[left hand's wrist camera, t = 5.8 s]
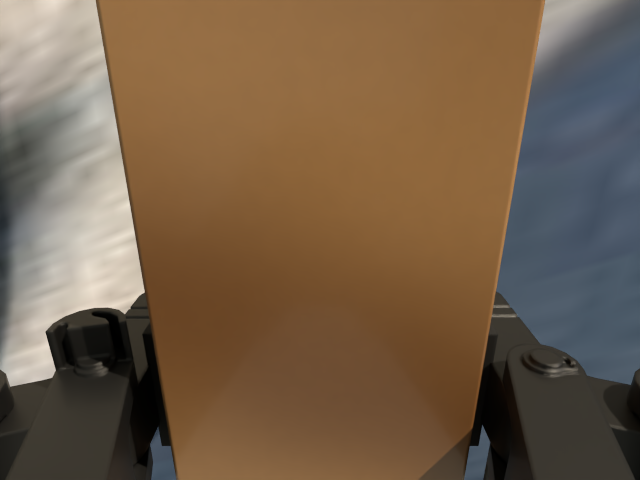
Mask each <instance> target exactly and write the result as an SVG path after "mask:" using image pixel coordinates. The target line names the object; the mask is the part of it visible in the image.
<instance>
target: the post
mask: <svg viewBox="0 0 640 480" xmlns="http://www.w3.org/2000/svg"><path fill="white" fill-rule="evenodd" d="M96 4H97V10H98V16H99V22H100V28H101V34H102V40H103V46H104V52H105V58H106V64H107V70H108V76H109V82H110V88H111V94H112V99H113V105H114V111H115V117H116V123H117V129H118V135H119V141H120V147H121V153H122V159H123V165H124V171H125V177H126V183H127V189H128V194H129V200H130V206H131V212H132V218H133V224H134V230H135V236H136V242H137V248H138V254H139V260H140V266H141V272H142V278H143V284H144V289H145V295H146V301H147V307H148V313H149V319H150V325H151V331H152V337H153V343H154V349H155V355H156V361H157V367H158V373H159V379H160V385H161V390H162V396H163V402H164V408H165V414H166V420H167V426H168V432H169V438H170V444H171V450H172V456H173V462H174V468H175V474H176V480H464V476H465V470H466V464H467V458H468V452H469V447H470V441H471V435H472V429H473V423H474V417H475V411H476V405H477V399H478V393H479V388H480V382H481V376H482V370H483V364H484V358H485V352H486V346H487V340H488V334H489V329H490V323H491V317H492V311H493V305H494V299H495V293H496V287H497V281H498V275H499V270H500V264H501V258H502V252H503V246H504V240H505V234H506V228H507V222H508V216H509V210H510V205H511V199H512V193H513V187H514V181H515V175H516V169H517V163H518V157H519V151H520V146H521V140H522V134H523V128H524V122H525V116H526V110H527V104H528V98H529V92H530V87H531V81H532V75H533V69H534V63H535V57H536V51H537V45H538V39H539V33H540V28H541V22H542V16H543V10H544V4H545V0H96Z"/></svg>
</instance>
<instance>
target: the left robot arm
mask: <svg viewBox="0 0 640 480" xmlns="http://www.w3.org/2000/svg"><path fill="white" fill-rule="evenodd" d="M46 335H47V339H48V343H49V346H50V350H51V354H52V357H53V361H54V365H55V368H56V371H55V374H54V376H53V378H50V379H46V380H42V381H37V382H32V383H27V384H22V385H17V386H12V387H10V385H9V382H8V379H7V376H6V374H5V373H4V372H3V371H1V370H0V480H151V476H152V467H153V459H152V452H151V447H150V443H151V441H152V438H153V436H154V434H155V432H156V430H157V427H158V426H159V432H160V438H161V443H162V446H171V444H170V438H169V432H168V426H167V420H166V414H165V408H164V402H163V396H162V390H161V385H160V379H159V373H158V367H157V361H156V355H155V349H154V343H153V337H152V331H151V325H150V319H149V313H148V307H147V301H146V295H145V293H143V294H142V295H140V296H139V297H138V298H137V300H136V301H135V302H134V304H133V305H132V306H131V309H129V310H128V311H127V312H126V314H124V313H122V312H121V311H120V310H116V309H112V308H93V309H88V310H83V311H79V312H76V313H73V314H71V315H68V316H65V317H63V318H62V319H60V320H58V321H57V322H55V323H53V324H52V325H51V326H50V328H49V329H48V330H47V331H46ZM482 425H483V427H484V429H485V431H486V433H487V436H488V438H489V440H490V447H489V452H488V458H487V463H486V468H485V473H484V479H483V480H640V369H638V370H637V371H636V372H635V374H634V377H633V380H632V383H631V385H628V384H623V383H618V382H613V381H608V380H603V379H598V378H594V377H590V376H587V375H586V373H585V371H584V369H583V368H582V366H581V365H580V364H579V363H578V361H577V360H575V359H574V358H572V357H571V356H569V355H568V354H567V353H565V352H562V351H560V350H558V349H555V348H553V347H550V346H545V345H541V344H540V343H539V342H538V341H537V339H536V338H535V337H534V336H533V334H532V333H531V332H530V330H529V329H528V328H527V327H526V325H525V324H524V323H523V322H522V320H521V319H520V318H519V317H517V314H516V313H515V312H514V310H513V309H512V308H510V305H509V304H508V303H507V301H506V300H505V299H504V298H503V296H502V295H501V294H499V293H498V292H496V293H495V299H494V305H493V311H492V317H491V323H490V329H489V334H488V340H487V346H486V352H485V358H484V364H483V370H482V376H481V382H480V388H479V393H478V399H477V405H476V411H475V417H474V423H473V429H472V435H471V441H470V446H478V445H479V439H480V434H481V428H482Z"/></svg>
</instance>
